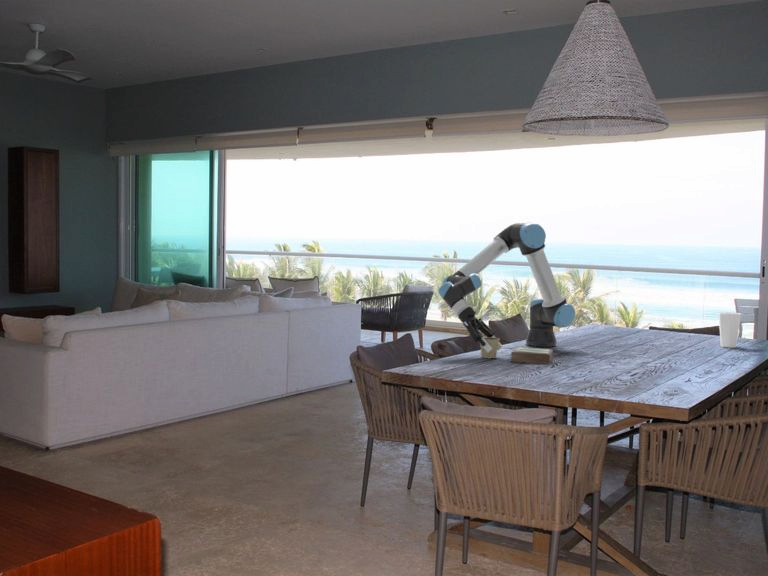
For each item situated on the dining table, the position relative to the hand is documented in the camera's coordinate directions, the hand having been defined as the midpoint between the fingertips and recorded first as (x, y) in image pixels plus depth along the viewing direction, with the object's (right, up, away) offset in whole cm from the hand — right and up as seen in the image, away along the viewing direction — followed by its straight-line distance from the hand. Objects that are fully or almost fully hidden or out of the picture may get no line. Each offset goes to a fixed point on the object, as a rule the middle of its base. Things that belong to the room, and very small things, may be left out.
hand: (495, 349), depth 347 cm
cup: (+125, -3, +53) cm, 136 cm away
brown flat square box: (+16, -4, -4) cm, 17 cm away
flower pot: (-3, -4, +2) cm, 5 cm away
